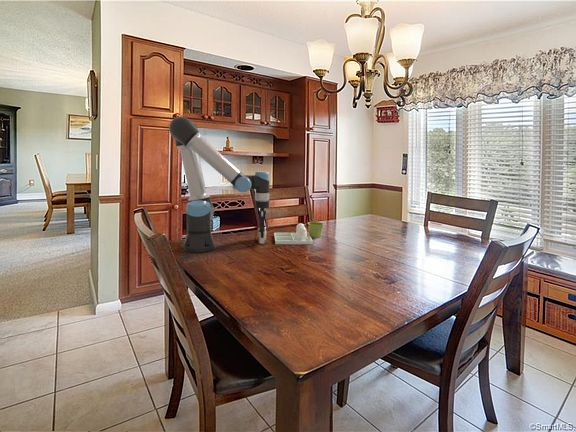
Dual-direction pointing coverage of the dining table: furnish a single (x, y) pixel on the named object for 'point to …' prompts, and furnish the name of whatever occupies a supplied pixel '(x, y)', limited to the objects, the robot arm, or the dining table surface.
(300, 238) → the white egg far right
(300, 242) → the caddy
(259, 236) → the wooden egg
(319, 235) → the plant pot
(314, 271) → the dining table surface
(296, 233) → the white egg far left
